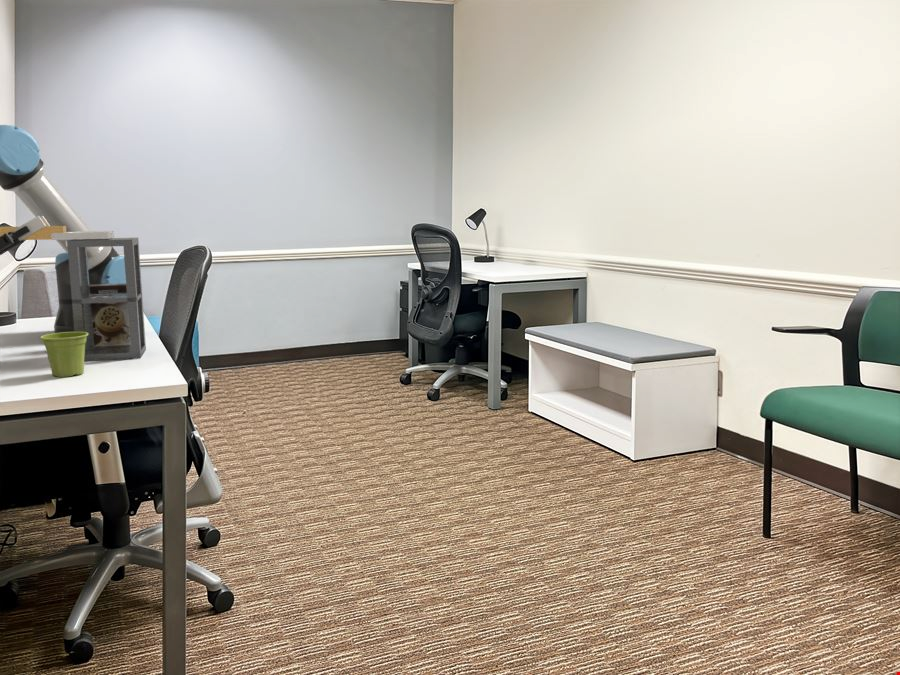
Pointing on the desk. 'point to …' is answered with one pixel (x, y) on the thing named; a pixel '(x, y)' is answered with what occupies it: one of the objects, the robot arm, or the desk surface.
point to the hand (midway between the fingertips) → (44, 221)
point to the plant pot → (66, 352)
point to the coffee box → (110, 317)
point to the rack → (107, 298)
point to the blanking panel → (61, 234)
